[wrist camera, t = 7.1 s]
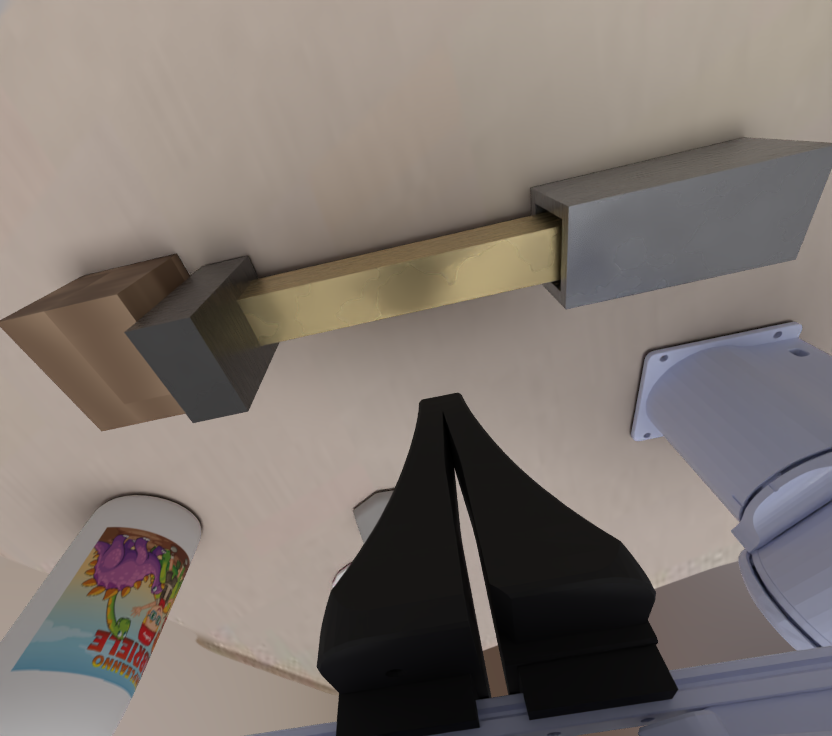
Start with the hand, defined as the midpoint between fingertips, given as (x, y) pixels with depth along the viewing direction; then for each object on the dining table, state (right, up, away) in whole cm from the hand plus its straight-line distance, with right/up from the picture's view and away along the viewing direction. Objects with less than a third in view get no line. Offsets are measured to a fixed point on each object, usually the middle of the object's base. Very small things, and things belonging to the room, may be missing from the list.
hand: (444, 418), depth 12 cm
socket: (-15, +4, +8) cm, 17 cm away
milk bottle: (-22, -11, +17) cm, 30 cm away
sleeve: (+10, +10, +6) cm, 15 cm away
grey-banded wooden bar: (-4, +6, +7) cm, 10 cm away
